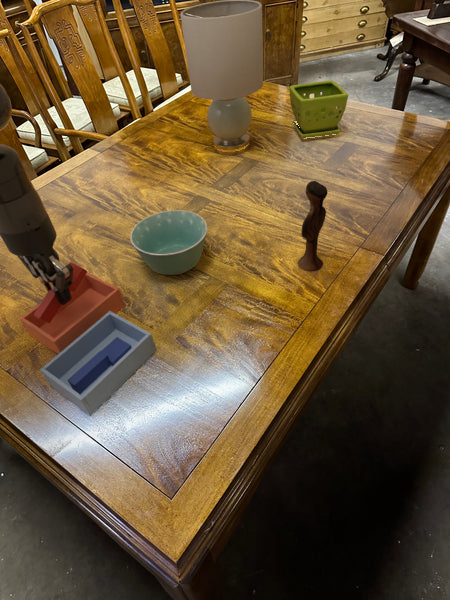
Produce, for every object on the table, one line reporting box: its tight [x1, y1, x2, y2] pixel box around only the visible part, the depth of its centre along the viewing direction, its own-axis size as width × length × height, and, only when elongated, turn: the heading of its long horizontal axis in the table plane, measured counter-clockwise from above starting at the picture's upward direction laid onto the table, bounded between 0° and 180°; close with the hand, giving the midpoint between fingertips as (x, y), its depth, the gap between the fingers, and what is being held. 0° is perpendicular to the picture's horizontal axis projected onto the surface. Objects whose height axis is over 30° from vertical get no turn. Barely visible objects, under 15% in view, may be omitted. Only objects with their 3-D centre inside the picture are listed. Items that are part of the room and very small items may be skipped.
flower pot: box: [288, 80, 349, 141], centre depth 125 cm, size 14×14×13 cm
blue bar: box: [68, 337, 132, 394], centre depth 70 cm, size 11×4×3 cm, turn 144°
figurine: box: [297, 180, 329, 272], centre depth 80 cm, size 7×5×18 cm
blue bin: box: [39, 311, 157, 417], centre depth 70 cm, size 15×10×4 cm
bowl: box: [129, 209, 208, 276], centre depth 87 cm, size 16×16×8 cm
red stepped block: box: [33, 261, 89, 323], centre depth 74 cm, size 11×4×3 cm, turn 145°
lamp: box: [180, 0, 264, 156], centre depth 115 cm, size 20×20×35 cm
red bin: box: [19, 272, 126, 355], centre depth 78 cm, size 15×10×4 cm
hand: (62, 299), depth 75 cm, fingers closed on red stepped block, 2 cm apart
